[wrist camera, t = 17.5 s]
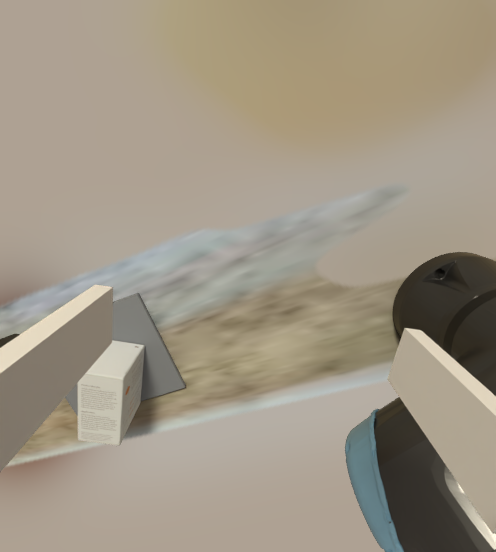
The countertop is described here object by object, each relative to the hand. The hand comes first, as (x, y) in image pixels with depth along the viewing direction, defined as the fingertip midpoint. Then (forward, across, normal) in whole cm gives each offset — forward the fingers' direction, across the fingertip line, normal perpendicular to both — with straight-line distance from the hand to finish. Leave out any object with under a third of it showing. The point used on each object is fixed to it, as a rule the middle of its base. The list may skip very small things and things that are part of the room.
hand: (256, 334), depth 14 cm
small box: (+22, -16, -28) cm, 39 cm away
